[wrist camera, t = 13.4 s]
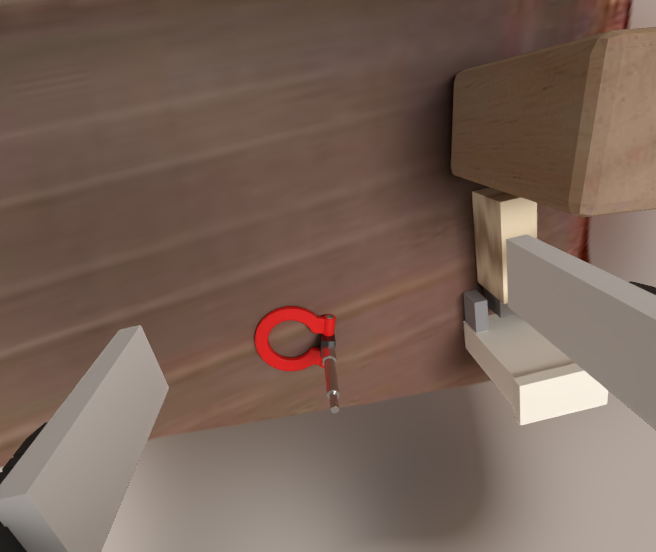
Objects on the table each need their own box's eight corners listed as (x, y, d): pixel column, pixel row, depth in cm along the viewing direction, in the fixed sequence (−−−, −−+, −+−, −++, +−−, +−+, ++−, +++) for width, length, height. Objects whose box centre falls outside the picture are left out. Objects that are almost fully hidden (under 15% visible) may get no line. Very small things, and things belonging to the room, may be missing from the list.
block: (450, 71, 38) (608, 27, 20) (548, 63, 39) (790, 13, 20) (446, 176, 42) (576, 223, 23) (536, 167, 43) (731, 205, 24)
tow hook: (254, 364, 48) (329, 367, 49) (239, 444, 36) (339, 446, 37) (256, 302, 45) (336, 306, 46) (240, 366, 33) (348, 371, 34)
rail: (471, 191, 43) (500, 202, 37) (503, 184, 43) (536, 193, 37) (479, 304, 48) (504, 328, 43) (507, 297, 48) (536, 320, 43)
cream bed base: (457, 293, 47) (519, 354, 35) (528, 276, 47) (613, 331, 35) (462, 351, 51) (520, 425, 38) (528, 335, 51) (607, 404, 39)
